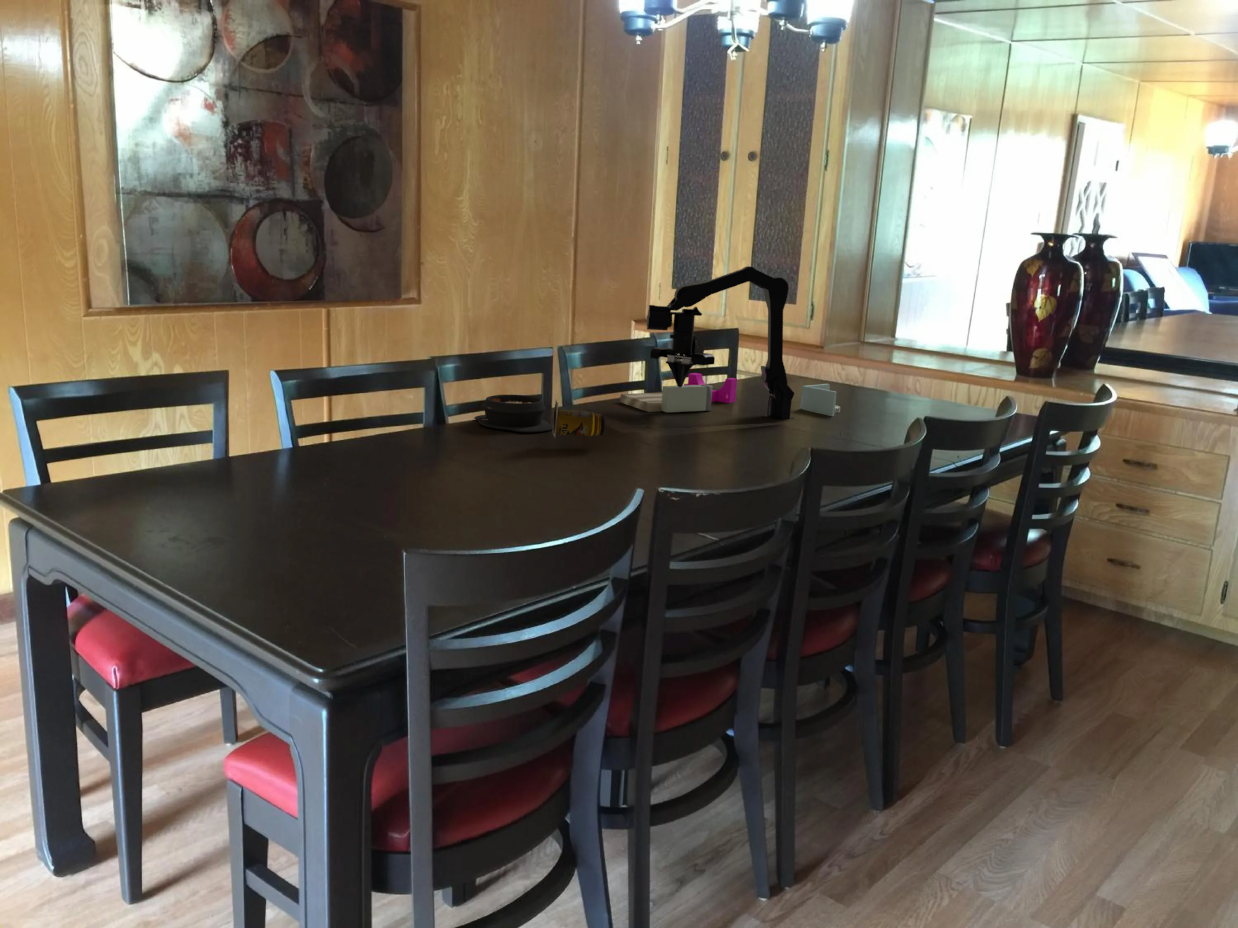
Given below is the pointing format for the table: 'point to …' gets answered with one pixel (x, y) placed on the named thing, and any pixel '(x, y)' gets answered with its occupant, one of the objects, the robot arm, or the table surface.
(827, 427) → the table surface
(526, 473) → the table surface
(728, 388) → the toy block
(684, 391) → the pale grey rectangular block
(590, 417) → the yellow can
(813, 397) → the right angle wall
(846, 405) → the table surface
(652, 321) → the robot arm
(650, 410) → the stool seat
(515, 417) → the casserole
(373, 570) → the table surface
